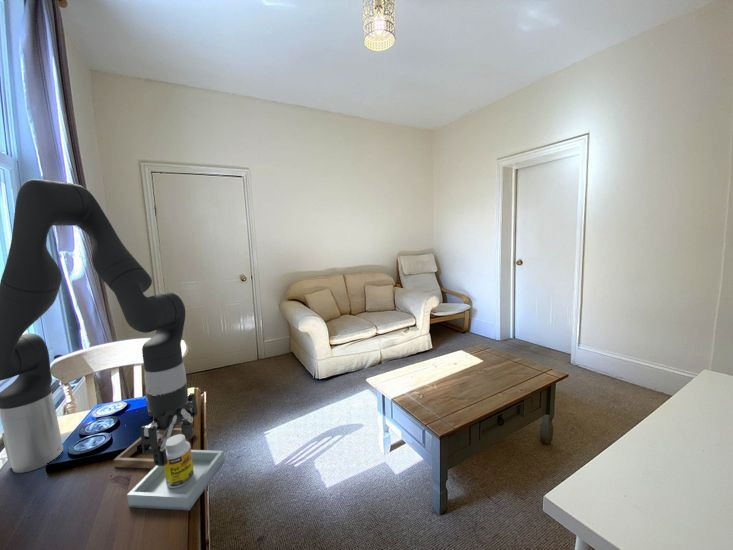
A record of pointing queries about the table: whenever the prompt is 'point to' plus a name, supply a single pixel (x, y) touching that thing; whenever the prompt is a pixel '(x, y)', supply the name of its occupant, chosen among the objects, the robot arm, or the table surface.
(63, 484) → the table surface
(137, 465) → the corral
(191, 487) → the bin
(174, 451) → the supplement bottle
